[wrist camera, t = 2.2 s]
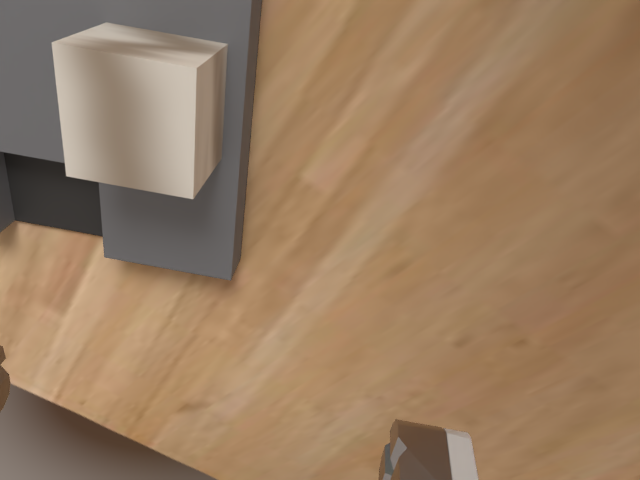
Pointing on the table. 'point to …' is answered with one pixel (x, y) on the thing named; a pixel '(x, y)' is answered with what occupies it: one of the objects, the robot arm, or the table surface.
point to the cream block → (141, 107)
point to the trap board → (111, 200)
